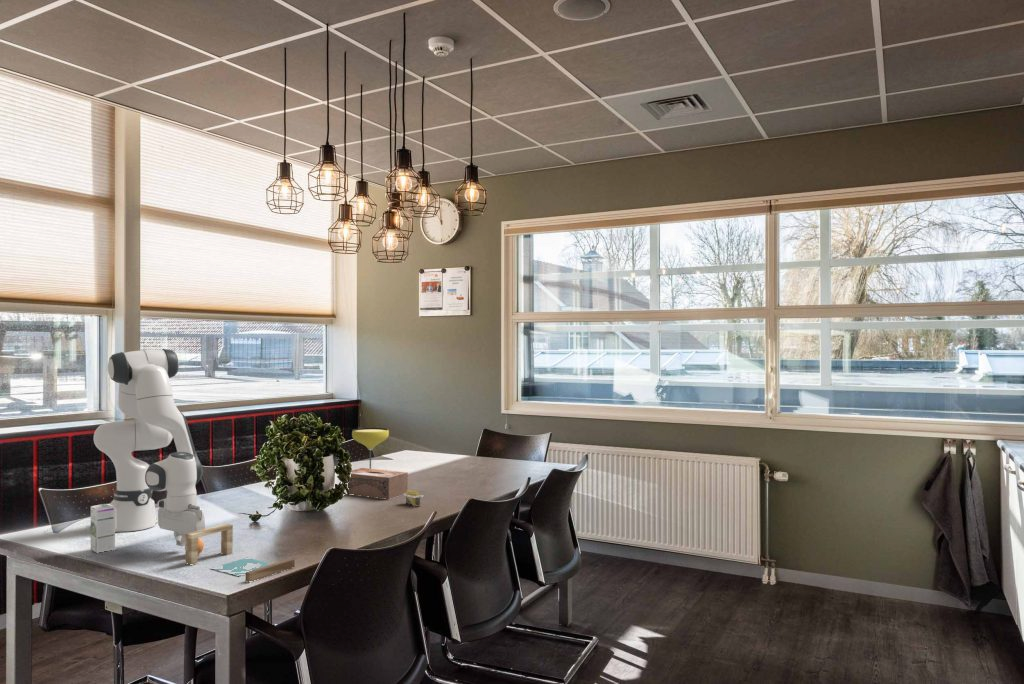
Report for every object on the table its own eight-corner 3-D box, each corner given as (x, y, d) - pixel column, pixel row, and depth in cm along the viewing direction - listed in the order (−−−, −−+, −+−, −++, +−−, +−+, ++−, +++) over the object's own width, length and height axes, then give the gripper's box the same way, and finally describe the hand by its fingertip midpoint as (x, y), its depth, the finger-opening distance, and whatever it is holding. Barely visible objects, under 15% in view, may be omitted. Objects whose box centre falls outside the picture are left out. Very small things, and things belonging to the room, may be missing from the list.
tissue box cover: (341, 494, 319) (342, 472, 319) (361, 489, 332) (362, 467, 332) (388, 500, 308) (389, 477, 308) (407, 494, 321) (407, 472, 321)
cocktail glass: (393, 481, 350) (394, 430, 350) (358, 484, 341) (358, 432, 341) (381, 475, 366) (381, 427, 366) (347, 478, 357) (347, 428, 357)
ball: (192, 544, 221) (189, 560, 222) (208, 540, 225) (205, 556, 226) (183, 536, 224) (180, 551, 225) (199, 532, 228) (196, 548, 229)
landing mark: (210, 569, 211) (210, 568, 211) (246, 558, 222) (246, 557, 222) (238, 576, 204) (238, 576, 204) (274, 565, 215) (274, 564, 215)
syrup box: (115, 550, 230) (116, 505, 230) (95, 554, 226) (96, 508, 226) (109, 546, 234) (109, 502, 234) (89, 550, 229) (90, 505, 229)
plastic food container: (417, 512, 287) (417, 496, 287) (386, 506, 298) (386, 490, 298) (437, 506, 297) (437, 491, 297) (406, 501, 307) (406, 486, 307)
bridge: (185, 563, 216) (185, 533, 216) (226, 552, 229) (226, 523, 229) (191, 565, 215) (191, 535, 215) (232, 553, 227) (232, 524, 227)
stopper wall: (245, 581, 200) (245, 572, 200) (289, 566, 214) (290, 558, 214) (250, 582, 199) (250, 573, 199) (294, 567, 213) (294, 559, 213)
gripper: (210, 504, 226) (210, 548, 226) (172, 497, 237) (171, 539, 237) (192, 508, 221) (192, 552, 221) (154, 501, 232) (153, 543, 231)
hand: (181, 545), depth 229 cm, fingers closed
